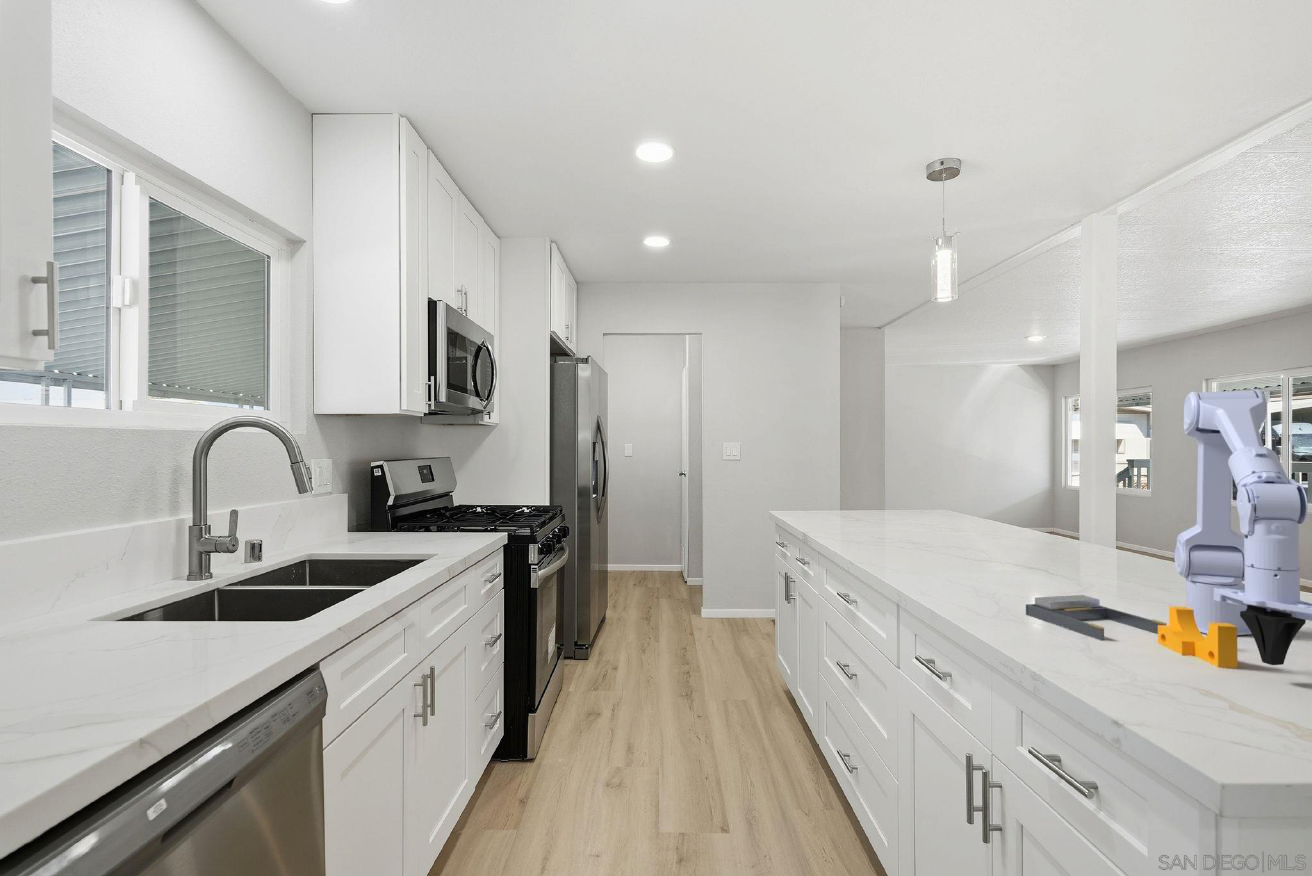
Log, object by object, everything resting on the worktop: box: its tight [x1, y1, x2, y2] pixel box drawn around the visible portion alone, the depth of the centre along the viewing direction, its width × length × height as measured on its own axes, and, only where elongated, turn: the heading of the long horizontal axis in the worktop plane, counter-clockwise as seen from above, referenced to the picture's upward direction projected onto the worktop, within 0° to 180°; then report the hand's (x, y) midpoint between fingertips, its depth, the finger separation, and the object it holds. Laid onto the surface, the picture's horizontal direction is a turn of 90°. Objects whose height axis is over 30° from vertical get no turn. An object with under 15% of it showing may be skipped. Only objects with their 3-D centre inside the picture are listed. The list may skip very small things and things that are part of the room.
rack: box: [1025, 594, 1167, 641], centre depth 122 cm, size 14×17×4 cm
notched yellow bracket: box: [1157, 606, 1239, 669], centre depth 104 cm, size 12×4×6 cm, turn 170°
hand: (1272, 663), depth 92 cm, fingers closed
